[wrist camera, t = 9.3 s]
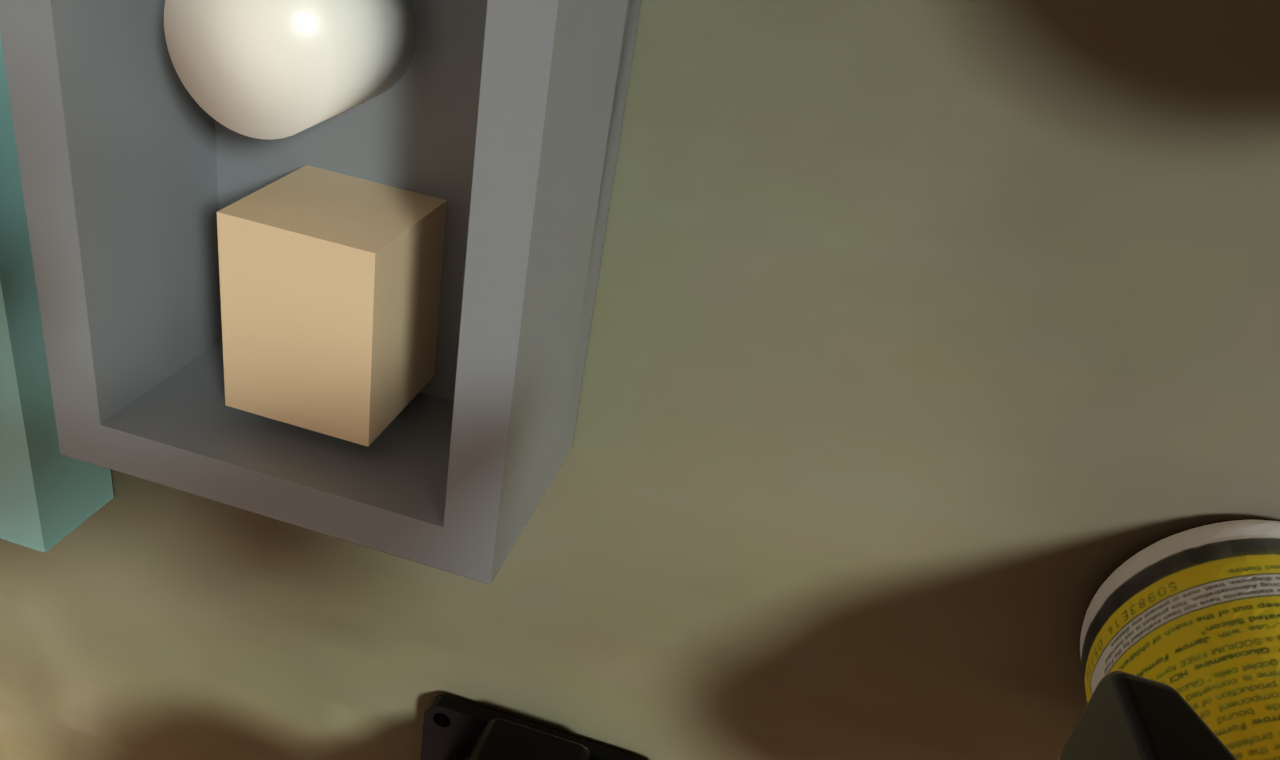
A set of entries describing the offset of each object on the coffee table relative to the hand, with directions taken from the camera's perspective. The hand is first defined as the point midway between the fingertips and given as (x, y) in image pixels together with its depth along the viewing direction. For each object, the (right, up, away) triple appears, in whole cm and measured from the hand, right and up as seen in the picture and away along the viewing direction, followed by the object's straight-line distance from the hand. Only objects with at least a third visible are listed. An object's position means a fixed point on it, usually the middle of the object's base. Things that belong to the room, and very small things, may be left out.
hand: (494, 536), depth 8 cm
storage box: (-4, +6, +13) cm, 15 cm away
